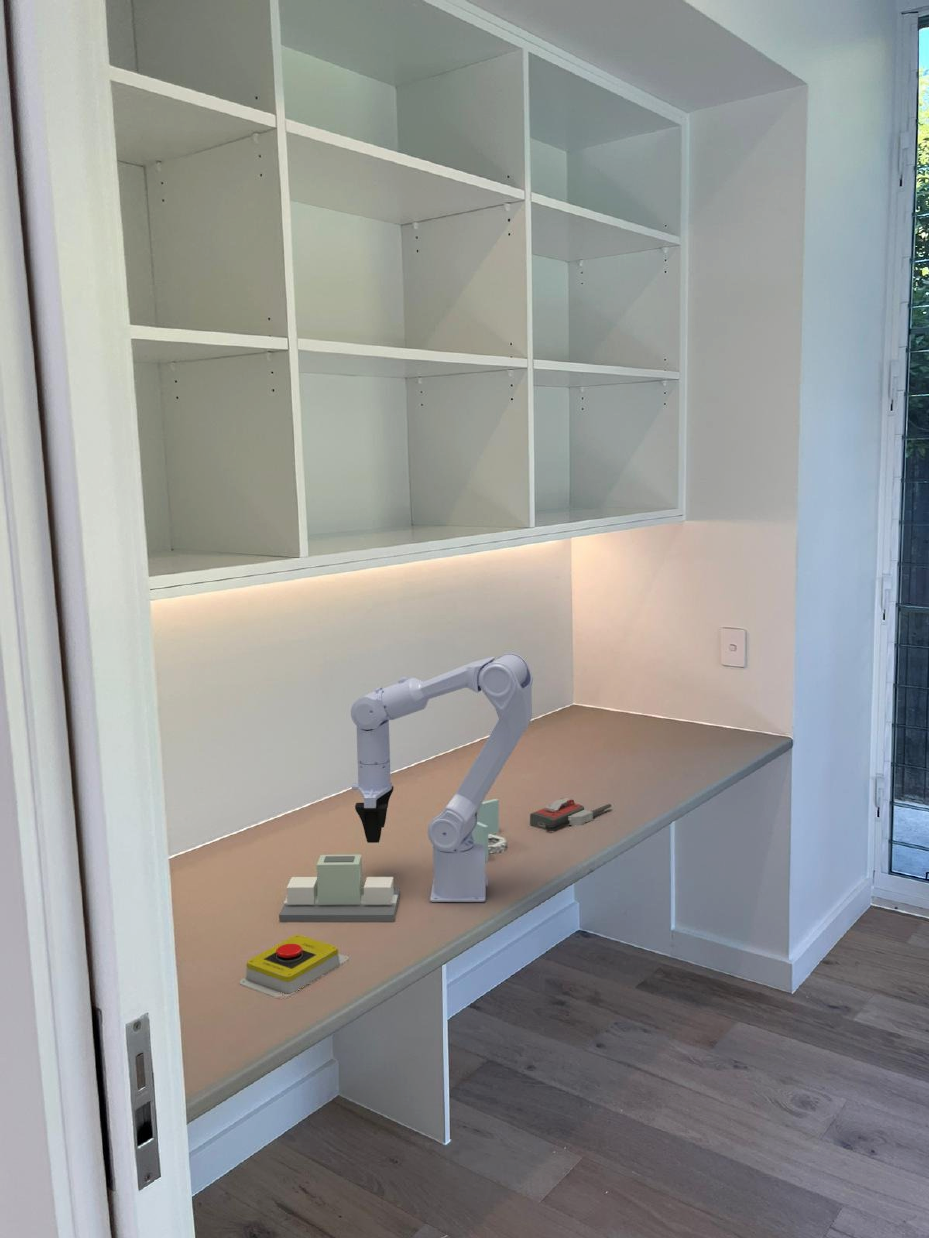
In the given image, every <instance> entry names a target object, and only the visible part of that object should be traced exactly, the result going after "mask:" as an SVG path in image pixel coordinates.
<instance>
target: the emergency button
mask: <svg viewBox="0 0 929 1238" xmlns="http://www.w3.org/2000/svg"><path fill="white" fill-rule="evenodd" d="M346 961H347V962H348V961H349V956H346V955H343V954H342V953H341V954H340V953H339V949H338V947H337V946H336V945H333V944H330V943H327V942H323V941H321V940H317V939H314V938H311V937H308V936H305V935H301V934H295V935H292V936H290V937H289V938H286V939H284V940H283V941H281V942H279V943H277V944H275V945H274V946H272V947H270V948H268V949H266V950H265V951H263V952H260V953H259V954H257V955H255V956H253V957H252V958H250V959H248V960H247V961H246V976H245V977H243V978H242V979H240V980H239V986H243V987H245V988H248V989H250V990H254V991H256V992H258V993H261V992H262V993H261V994H263V993H264V994H263V995H266V994H267V995H266V996H269V995H270V996H269V997H272V996H273V997H272V998H274V996H275V997H277V998H278V996H284V995H285V994H290V995H291V993H293V992H296V991H297V990H298V989H301V988H302V987H303V986H305V985H308V983H311V982H313V981H314V980H316V979H318V978H319V979H321V978H322V977H321V976H322V975H324V976H325V974H326V973H328V972H329V973H331V972H333V971H334V970H335V969H334V968H336V969H337V968H339V967H340V965H341V966H342V965H344V964H346V963H347V962H346ZM345 962H346V963H345ZM343 963H344V964H343ZM333 969H334V970H333ZM330 971H331V972H330ZM329 973H328V974H329ZM326 975H327V974H326ZM320 977H321V978H320ZM319 979H318V980H319ZM316 981H317V980H316ZM314 982H315V981H314ZM314 982H313V983H314ZM311 984H312V983H311ZM308 986H309V985H308ZM301 990H302V989H301ZM279 992H280V993H279ZM281 992H282V993H281ZM283 993H284V994H283ZM296 993H297V992H296ZM279 994H280V995H279ZM285 996H288V995H285ZM291 996H292V995H291ZM277 998H276V999H277Z"/></svg>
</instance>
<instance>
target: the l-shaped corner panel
mask: <svg viewBox="0 0 929 1238" xmlns="http://www.w3.org/2000/svg"><path fill="white" fill-rule="evenodd" d="M499 806H500V805H499V799H498V798H492V799H490V800H488V799H487V800H483V802H482V806H481V808H480V810H479V812H478V821H477V825H476V827H475V829H474V830H473V831H471V832H472V836H473V839H474V843H477V844H483V845H485V854H486V863H488V862H489V861H490V860H489V859H490V858H489V854H490V855H491V854H499V853H504V852H505V851H506V850H507V848H506V847H508V845H507V844H508V841H507V839H506V838H505V837H504V836H503V837H502V836H499V835H496V834H499V833H500V828H499V827H500V826H499V825H500V824H499V823H500V818H499V817H500V815H499V814H500V813H499V810H500V809H499Z"/></svg>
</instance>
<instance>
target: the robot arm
mask: <svg viewBox="0 0 929 1238" xmlns="http://www.w3.org/2000/svg"><path fill="white" fill-rule="evenodd" d="M496 658H497V656H491V657H486V658H483V659H479V660H477V661H472V662H469V663H467V664H464V665H462V666H460V667H457V668H455V669H452V670H449V671H447V672H445V673H443V674H440V675H436V676H435V677H433V678H429V679H427V680H425V681H423V680H420V679H418V678H416V677H411V678H408V676H404V677H401V678H400V679H397V682H398V683H395V684H392V685H390V686H387V687H384V688H383V687H382V686H379V687H377V688H375V689H374V690H373V691H372V692H369V693H367V694H364V695H363V696H361V697H360V698H358V699H356V700H355V701H354V703H353V704H352V706H351V709H350V717H351V720H352V722H353V723H354V725H355V726H356V749H357V750H356V752H357V754H356V756H357V758H356V759H357V782H353V783H352V784H351V790H353V791H358V793H359V794H360V795H361V797H362V798H363V802H356V803H355V805H354V809H355V811H356V813H357V815H358V816H359V819H360V822H361V824H362V827H363V832H364V836H365V840H366V842H367V844H369V843H371V844H372V843H373V844H375V843H376V844H379V843H380V840H381V836H382V828H383V829H384V828H385V824H386V820H387V814H388V807H389V802H390V798H391V796H392V794H393V792H394V786H393V784H392V782H391V780H392V779H391V752H390V751H391V750H390V748H391V747H390V742H391V741H390V721H394V720H396V719H400V718H403V717H405V716H408V715H411V714H414V713H417V712H419V711H422V710H425V708H427V705H428V704H429V703H428V702H429V700H431V699H433V698H437V697H440V696H443V695H447V694H450V693H452V692H456V691H460V690H462V689H465V688H467V689H468V690H471V691H473V692H474V693H480V692H482V693H483V694H484V695H485V697H486V698H487V699H488V701H489V702H490V704H491V705H492V706H493V707H494V708H495V709H494V710H495V711H496V714H497V717H498V720H497V722H496V723H495V726H494V728H493V730H492V731H491V732H490V734H489V736H488V738H487V739H486V740H485V743H484V745H483V747H481V750H480V752H479V753H478V755H477V757H476V758H475V760H474V762H473V763H472V765H471V766H470V768H469V770H468V772H467V773H466V775H465V777H464V778H463V780H462V781H461V784H460V785H459V787H458V789H457V790H456V793H455V794H454V795H453V796H452V798H451V799H450V801H449V802H448V803H447V805H446V806H445V808H444V809H443V810H442V811H441V812H440V813H439V814H438V815H437V816H435V817H434V818H432V819H431V821H429V824H428V826H427V836H428V839H429V842H430V843H431V845H432V863H433V864H432V865H433V866H432V868H433V869H432V871H433V872H432V873H433V875H432V877H433V882H432V885H431V891H430V898H429V900H430V902H431V903H445V902H446V903H453V902H454V903H459V902H460V903H473V902H474V903H475V902H476V903H477V902H478V903H483V902H486V897H487V895H486V892H487V890H486V889H487V887H488V886H489V885H488V882H489V881H488V875H487V869H486V863H487V862H486V854H485V845H483V844H477V843H474V839H473V836H472V832H471V831H473V830H474V829H475V827H476V825H477V821H478V812H479V810H480V808H481V806H482V802H484V801H485V798H486V797H487V795H488V794H489V792H490V790H491V789H492V787H493V785H494V783H495V782H496V780H497V779H498V777H499V775H500V774H501V771H502V770H503V769H504V766H505V765H506V763H507V762H508V760H509V758H510V757H511V755H512V753H513V752H514V750H515V748H516V747H517V745H518V743H519V742H520V740H521V738H522V737H523V735H524V733H525V732H526V731H527V730H526V729H527V728H528V726H529V725H530V723H531V721H532V719H533V718H532V717H533V701H532V700H533V696H532V692H533V691H532V689H533V681H534V677H533V674H532V672H531V670H530V668H529V665H528V662H527V661H526V659H524V658H523V656H521V655H520V654H519V653H518V654H517V653H514V652H506V653H503V654H502V655H500V656H499V657H498V658H497V659H496ZM495 659H496V660H495Z"/></svg>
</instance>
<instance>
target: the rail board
mask: <svg viewBox="0 0 929 1238" xmlns="http://www.w3.org/2000/svg"><path fill="white" fill-rule="evenodd" d="M363 885H364V886H363V894H362V898H361V902H360V904H331V905H318V882H317V876H291V878H290V880H289V882H288V884H287V886H286V896H285V897H286V898H285V899H284V901H283V906H282V908H281V910H280V912H279V914H278V919H279V920H278V921H279V923H281V922H282V923H290V922H291V923H310V922H311V923H313V922H314V923H325V922H326V923H331V922H332V923H340V922H341V923H372V922H373V923H381V922H382V923H389V922H390V923H394V921H395V918H396V913H397V910H398V909H397V908H398V905H399V900H400V897H401V888H399V887H394V876H367V877H366V880H365V883H364V884H363Z"/></svg>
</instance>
